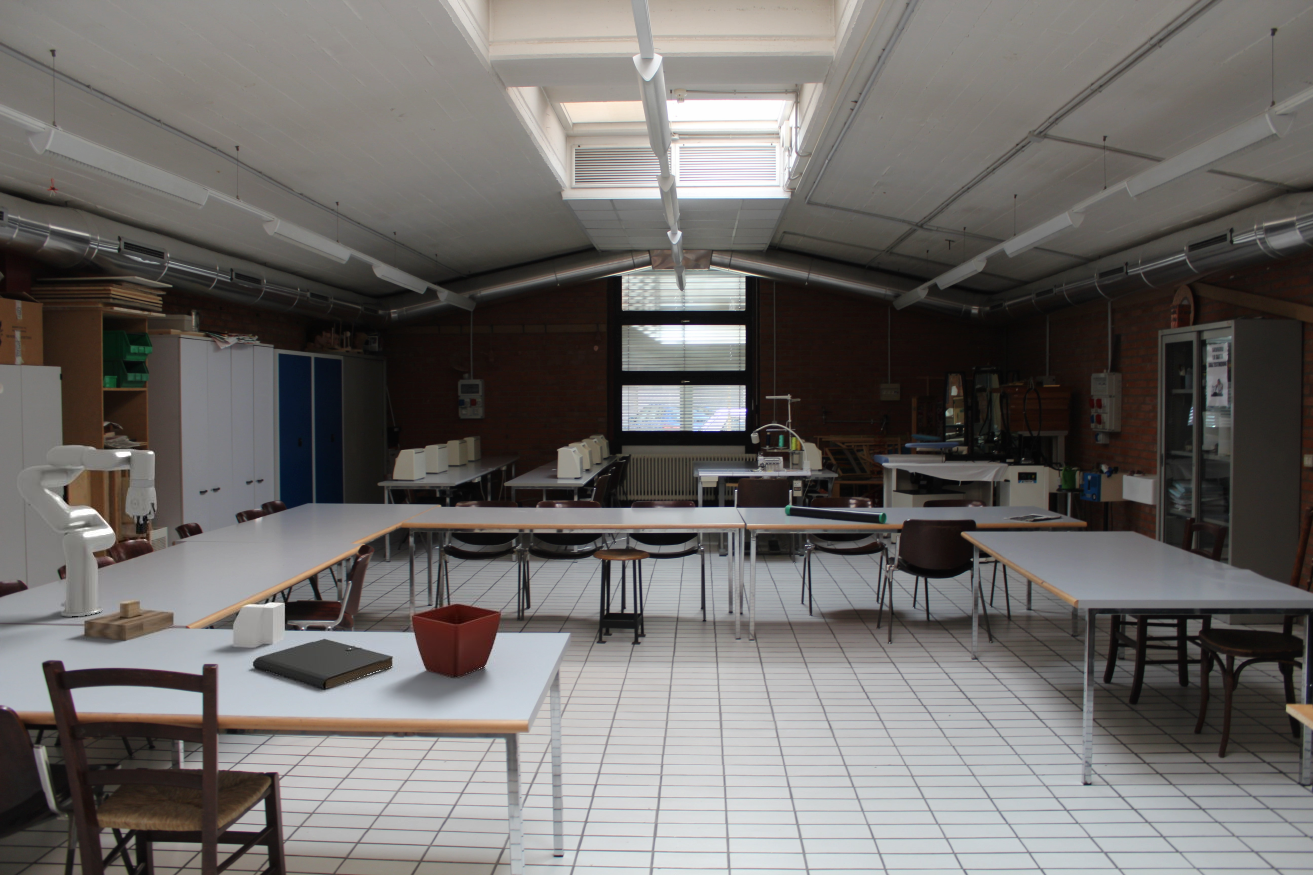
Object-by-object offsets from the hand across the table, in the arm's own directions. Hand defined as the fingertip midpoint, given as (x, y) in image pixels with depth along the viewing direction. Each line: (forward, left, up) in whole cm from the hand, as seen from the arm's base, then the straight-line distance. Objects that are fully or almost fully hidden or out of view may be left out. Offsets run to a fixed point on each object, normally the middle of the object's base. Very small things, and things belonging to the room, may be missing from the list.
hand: (141, 533), depth 286 cm
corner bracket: (+65, -13, -31) cm, 73 cm away
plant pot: (+140, -17, -31) cm, 144 cm away
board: (+14, -16, -31) cm, 37 cm away
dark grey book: (+102, -28, -31) cm, 110 cm away
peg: (+14, -16, -31) cm, 37 cm away
